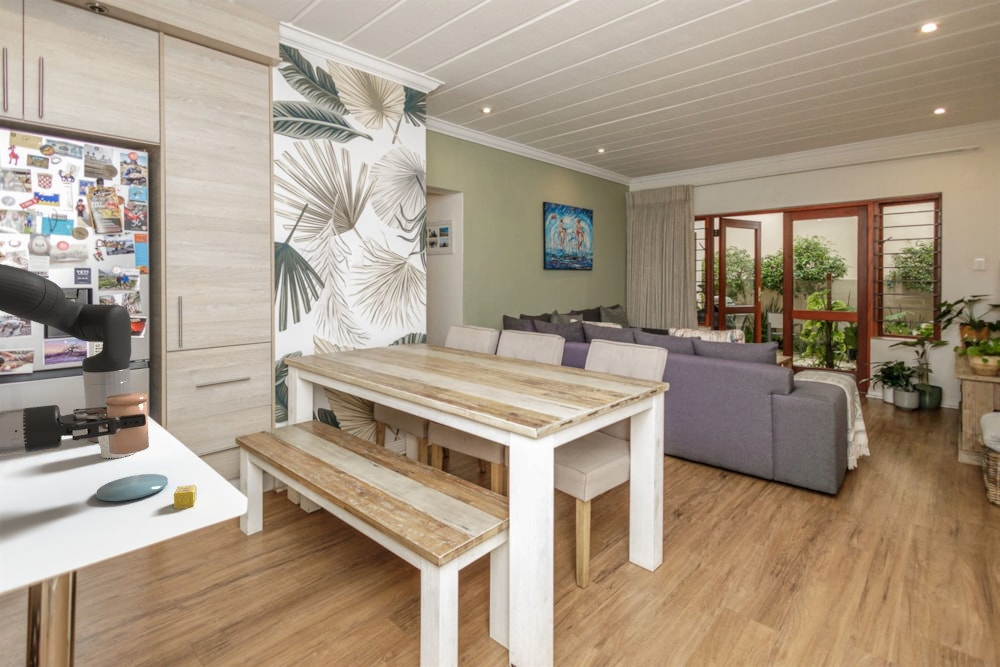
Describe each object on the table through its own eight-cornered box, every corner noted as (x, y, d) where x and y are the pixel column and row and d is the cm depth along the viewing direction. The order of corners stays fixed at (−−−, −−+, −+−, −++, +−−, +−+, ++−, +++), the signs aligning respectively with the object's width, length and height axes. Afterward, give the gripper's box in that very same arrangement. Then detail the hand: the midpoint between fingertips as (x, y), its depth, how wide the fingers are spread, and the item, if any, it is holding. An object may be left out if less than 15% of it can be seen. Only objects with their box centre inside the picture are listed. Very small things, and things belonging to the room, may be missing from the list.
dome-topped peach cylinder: (107, 447, 96) (104, 395, 95) (148, 441, 100) (146, 391, 99) (108, 457, 91) (105, 402, 90) (151, 450, 95) (149, 398, 94)
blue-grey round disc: (96, 488, 97) (95, 482, 97) (164, 475, 104) (164, 469, 104) (97, 509, 89) (96, 503, 89) (171, 493, 96) (171, 487, 96)
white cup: (118, 461, 111) (114, 417, 110) (88, 458, 113) (85, 414, 112) (149, 449, 119) (146, 407, 118) (121, 446, 120) (118, 405, 119)
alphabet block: (197, 499, 94) (196, 484, 93) (194, 507, 91) (193, 490, 90) (178, 502, 93) (177, 486, 92) (174, 509, 90) (173, 493, 89)
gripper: (17, 418, 80) (146, 403, 90) (25, 400, 91) (140, 389, 101) (20, 464, 81) (148, 444, 91) (28, 441, 92) (142, 425, 102)
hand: (143, 415), depth 96 cm, fingers closed on dome-topped peach cylinder, 6 cm apart
